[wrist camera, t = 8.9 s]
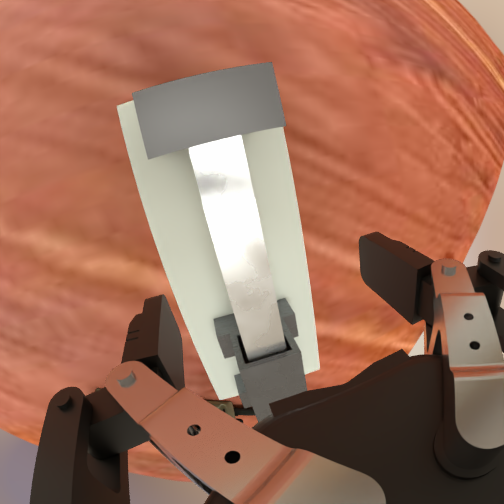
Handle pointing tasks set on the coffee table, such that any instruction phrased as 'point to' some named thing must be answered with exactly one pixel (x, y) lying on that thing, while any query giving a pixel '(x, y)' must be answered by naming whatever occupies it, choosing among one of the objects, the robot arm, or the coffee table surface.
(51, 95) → the coffee table surface
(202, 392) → the coffee table surface
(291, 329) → the sleeve
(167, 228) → the base board
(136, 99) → the socket
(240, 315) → the silver metal bar
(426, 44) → the coffee table surface
